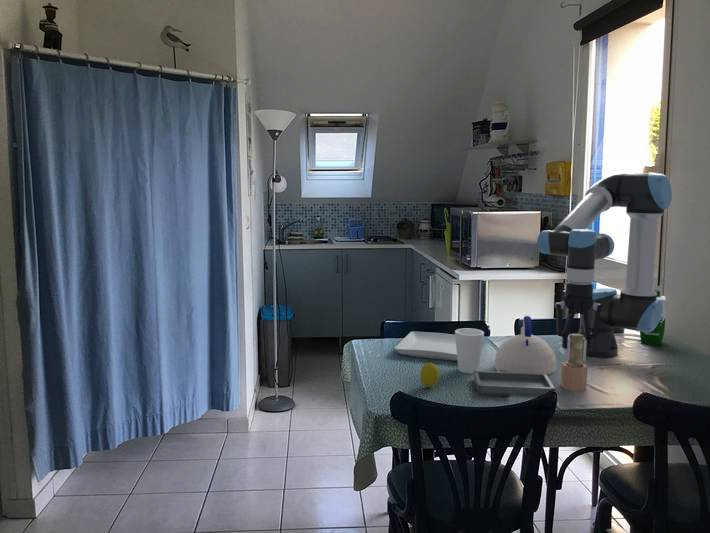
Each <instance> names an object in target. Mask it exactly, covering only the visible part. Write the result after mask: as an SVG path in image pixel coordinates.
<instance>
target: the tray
mask: <svg viewBox="0 0 710 533" xmlns="http://www.w3.org/2000/svg"><path fill="white" fill-rule="evenodd" d="M473 382H474V386H475V390H476V394H477V396H484V397H508V398H511V395H510V394H512V395H529V396H530V395H533V396H535V395H536V396H543V395H542V394H544V393H546V392H548V391H555V392H556V387H555V386H554V384H553V382H552V381H551V379H550V378H549V376H548V374H544V373H518V372H506V371H500V372H499V371H491V370H490V371H489V370H488V371H487V370H478V371H474V373H473Z"/></svg>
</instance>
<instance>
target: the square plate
mask: <svg viewBox="0 0 710 533" xmlns="http://www.w3.org/2000/svg"><path fill="white" fill-rule="evenodd" d="M393 349H394V350H395V351H396V352H397V353H399V354H401V355H404V356H405V355H406V356H410V357H415V358H422V357H424V358H425V359H433V360H441V361H442V360H444V361H453V362H456V361H457V362H458V360H457V349H456V339H455V334H450V333H443V332H441V333H440V332H427V331H426V332H425V331H410V332H409V333H408V334H407V335H406V336H404V338H403V339H401V341H400V342H399V343H398V344H396V345H395V346H394V347H393Z"/></svg>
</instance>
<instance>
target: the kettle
mask: <svg viewBox="0 0 710 533" xmlns="http://www.w3.org/2000/svg"><path fill="white" fill-rule="evenodd" d="M522 319H523V320H522V321H523V322H522V327H521V328H520V334H517V335H513V336H511V337H509V338H507V339H506V340H504V341H503V342H502V344H501V345H500V346H498V349H497V351H496V353H495V359H494V365H493V368H494V369H495V370H496V372H501V371H502V372H518V373H544V374H547V375H550V374H553V373H554V372H556V371H557V357H556V355H555V353H554V350H553V349H552V348H551V347H550V345H549V344H548V343H547V342H546V341H545V340H544V339H543V338H541V337H539V336H536V335H534V334H532V318H531V316H529V315H525V316H524V317H523V318H522Z"/></svg>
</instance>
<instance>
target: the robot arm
mask: <svg viewBox="0 0 710 533" xmlns="http://www.w3.org/2000/svg"><path fill="white" fill-rule="evenodd" d="M672 194H673V192H672V186H671V182H670V179H669V178H668V176H666V175H665V174H664V173H658V172H657V173H653V172H642V173H641V172H640V173H639V172H629V173H628V172H619V173H613V174H610V175H608V176H606V177H604V178H601V179H600V180H599V181H597V182H595V183H593V185H592V186H591V187H589V188H588V189H587V191H586V192H585V194H584V198H583V199H582V200H581V201H580V202H579V203H578V204H577V205H576V206H575V207H574V208H573V209H572V210H571V211H570V212H569V213H568V214H567V215H566V216H565V217H564V219H562V220H561V222H559V224H558V225H557V226H556V227H554V229H552V230H550V229H548V230H542V231H540V232H539V234H538V236H537V242H536V245H537V249H538V251H539V252H540V253H541V254H545V255H550V256H552V255H553V256H562V257H563V256H564V257H567V264H566V265H567V266H566V270H567V271H566V280H567V282H566V283H565V296H564V298H563V300H562V301H560V302H556V301H555V303H554V306H555V309H556V320H555V321H556V322H555V323H556V328H555V329H556V330H555V333H556V335H557V336H558V337H561V338H562V340H561V342H562V343H561V347H562V349H564V359H565V360H566V361H569V358H570V341H571V339H570V338H569V334H570V331H571V328H572V324H573V321H574V317H575V316H576V315H577V314H580V316H579V317H580V320H579V321H580V322H579V330H578V333H577V334H581V335H583V336H584V338H583V354H582V362H586V357H587V356H588V357H594V358H595V357H597V358H611V357H612V358H613V357H615V356H617V355H618V352H619V347H618V343H617V339H616V336H615V333H614V332H615V328H620V329H624V330H630V331H635V332H637V333H640V331H641V332H651V331H653V330H654V329H655V328H656V326H657V325H658V323H659V321H660V318H661V314H662V309H663V306H662V302H661V301H660V300H658V299H657V293H656V292H655V291H654V290H655V289H654V288H653V286H654V275H655V261H656V249H657V248H656V247H657V236H658V224H659V219H660V218H661V217H662V216H663V215H664V211H665V210H667V209H669V207H671V202H672V196H673V195H672ZM614 207H615V208H616V207H621V208H626V210H625V214H627V215H628V217H629V218H630V221H629V223H630V224H629V236H628V247H627V248H628V249H627V261H626V262H627V263H626V274H625V276H626V277H625V286H624V287H623V288H622V289H621V290H620V293H619V294H618V292H617V290H616V289H615V288H614V289H613V288H594V284H593V282H594V278H595V264H596V262H595V261H596V260H602V259H605V258H607V257H609V256H611V254H612V253H613V252H614V250H615V242H614V240H613V238H612V237H611V236H610V234H609V235H608V234H606V233H600V232H599V233H598V232H597V231H595V230H593V229H588V228H589V227H590V226H591V225H592V224H593V223H594V222H595V221H596V219H597V218H598V217H599V216H600V215H601V214H602V213H603V212H607V211H608V210H610V208H614ZM564 306H565V307H566V308H567V310H568V311H567V315H566V320H565V323H564V326H563V310H564ZM563 327H564V328H563Z"/></svg>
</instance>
